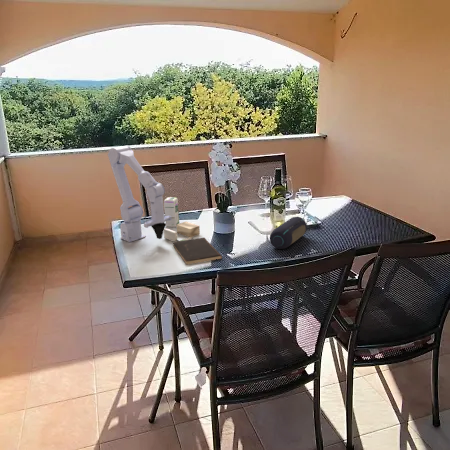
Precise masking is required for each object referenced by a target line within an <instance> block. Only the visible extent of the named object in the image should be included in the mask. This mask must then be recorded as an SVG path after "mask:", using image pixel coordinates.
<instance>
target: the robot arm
mask: <svg viewBox="0 0 450 450" xmlns="http://www.w3.org/2000/svg"><path fill="white" fill-rule="evenodd" d="M107 157H108V158H107V159H108V161H109V163H110V168H111V170H112V173H113V177H114V179H115V183H116V185H117V190H118V191H119V195H120V197H121V201H122V204H121V205H120V207H119V210H120V217H121V219H122V220H123V222H121V224H120V239H121V240H124V241H126V242H128V243H133V242H134V241H138V240H141V239H144V238H146V237H147V236H146V235H144V234H143V233H142V222H141V221H142V217H143V215H144V209H143V207H142V206H141V204H140V202H139V201H138V200H136V199H135V198H134V194H133V192H132V188H131V186H130V183H129V179H128V176H127V173H126V170H125V167H126V165H128V166H129V168H131V169H132V171H133V172H134V173H135V174H136V175H137V179H138V181H139V182H140V185H142V186H143V187H144V189H145V190H146V193H145V194H146V195H147V197H148V200H149V204H150V205H149V206H150V214H151V215H150V216H151V219H149V220H147V221H146V222H143V228H147V229H148V228H149V227H151V228H152V229H153V231H154V234H155V236H156V239H158V240H161V239H163V235H164V229H165V227H167V226H166V221H169V220H172V216H165V209H164V197H163V196H164V194H166V193H165V192H166V189H165V186H164V185H163V183H161V182H158V181H156V179H155V178H154V177H153V176H152V175H151V173H150V172H149V171H146V170H144V168H143V167H142V166H141V164H140V162H139V161H138V160H137V158H136V157H135V151H134V150H133V149H132V147H130V145H123V146H119V147H111V148H110V149H109V151H108V153H107Z"/></svg>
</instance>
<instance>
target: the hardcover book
mask: <svg viewBox="0 0 450 450" xmlns="http://www.w3.org/2000/svg"><path fill="white" fill-rule="evenodd" d="M171 244H172V246H173V247H174V248H175V250H176V252H177V253H178V254H179V256H180V257H181V258H182V260H183V261H184V263H185V265H192V263H193V264H198V262H199V263H205V262H209V260H211V261H216V259H217V260H222V259H223V256H222V254H221V253H220V252H219V251H218V250H217V249H216V248H215V247H214V246H213V245H212V244H211V243H210V242H209V241H208V240H207V239H206V238H205V237H198V238H192V239H190V240H184V241H180V240H179V241H176V242H174V241H172V242H171ZM204 261H205V262H204Z"/></svg>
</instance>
